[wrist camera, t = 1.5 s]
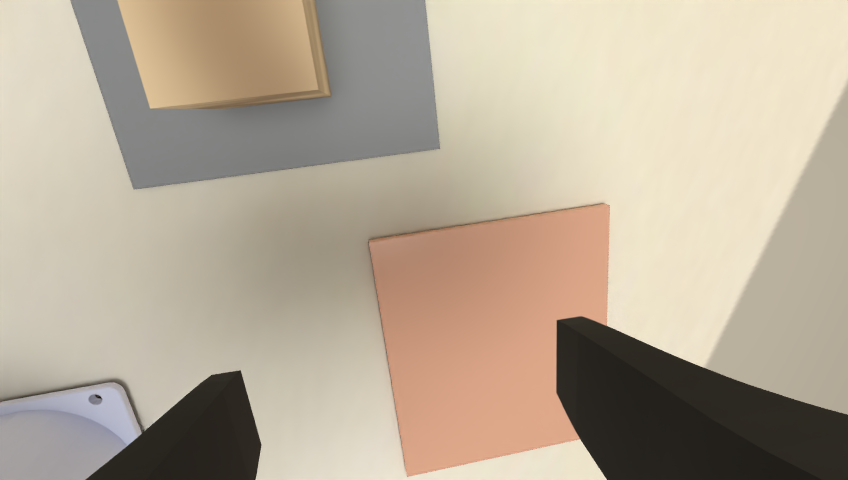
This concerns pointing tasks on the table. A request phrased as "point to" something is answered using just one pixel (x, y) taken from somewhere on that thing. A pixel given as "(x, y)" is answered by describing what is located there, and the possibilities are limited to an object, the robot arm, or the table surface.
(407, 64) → the grey square mat
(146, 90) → the oak block
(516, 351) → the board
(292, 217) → the table surface
